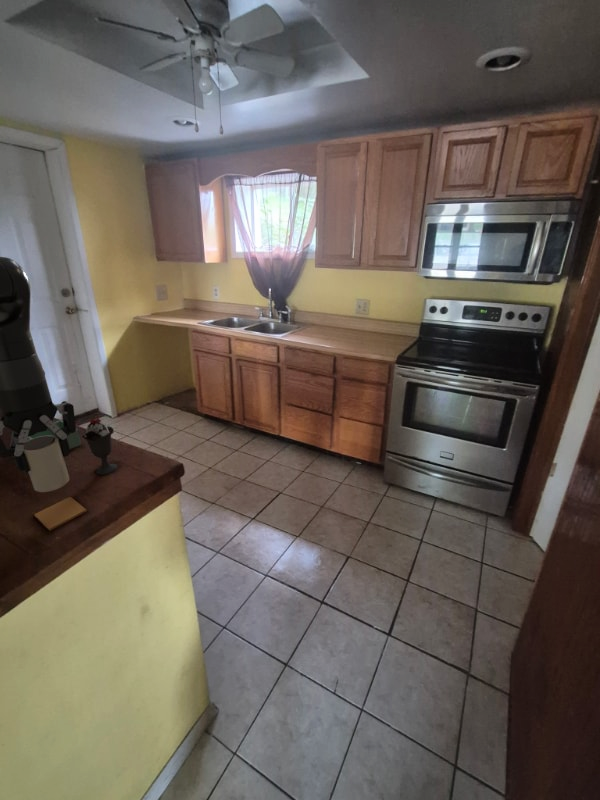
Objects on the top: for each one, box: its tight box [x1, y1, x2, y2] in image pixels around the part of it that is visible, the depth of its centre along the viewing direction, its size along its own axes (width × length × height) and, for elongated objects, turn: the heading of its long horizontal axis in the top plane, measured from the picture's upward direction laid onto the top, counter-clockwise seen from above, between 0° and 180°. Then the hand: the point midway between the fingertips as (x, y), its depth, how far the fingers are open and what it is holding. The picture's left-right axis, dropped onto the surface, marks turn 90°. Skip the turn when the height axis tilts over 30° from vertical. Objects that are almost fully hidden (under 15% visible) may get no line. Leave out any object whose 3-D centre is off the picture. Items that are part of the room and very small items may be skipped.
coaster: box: [33, 496, 88, 532], centre depth 75 cm, size 7×7×1 cm
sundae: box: [81, 409, 118, 476], centre depth 87 cm, size 7×7×15 cm
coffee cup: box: [22, 435, 70, 493], centre depth 71 cm, size 6×6×9 cm
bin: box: [27, 419, 82, 450], centre depth 98 cm, size 10×10×5 cm
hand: (45, 462), depth 71 cm, fingers closed on coffee cup, 6 cm apart
